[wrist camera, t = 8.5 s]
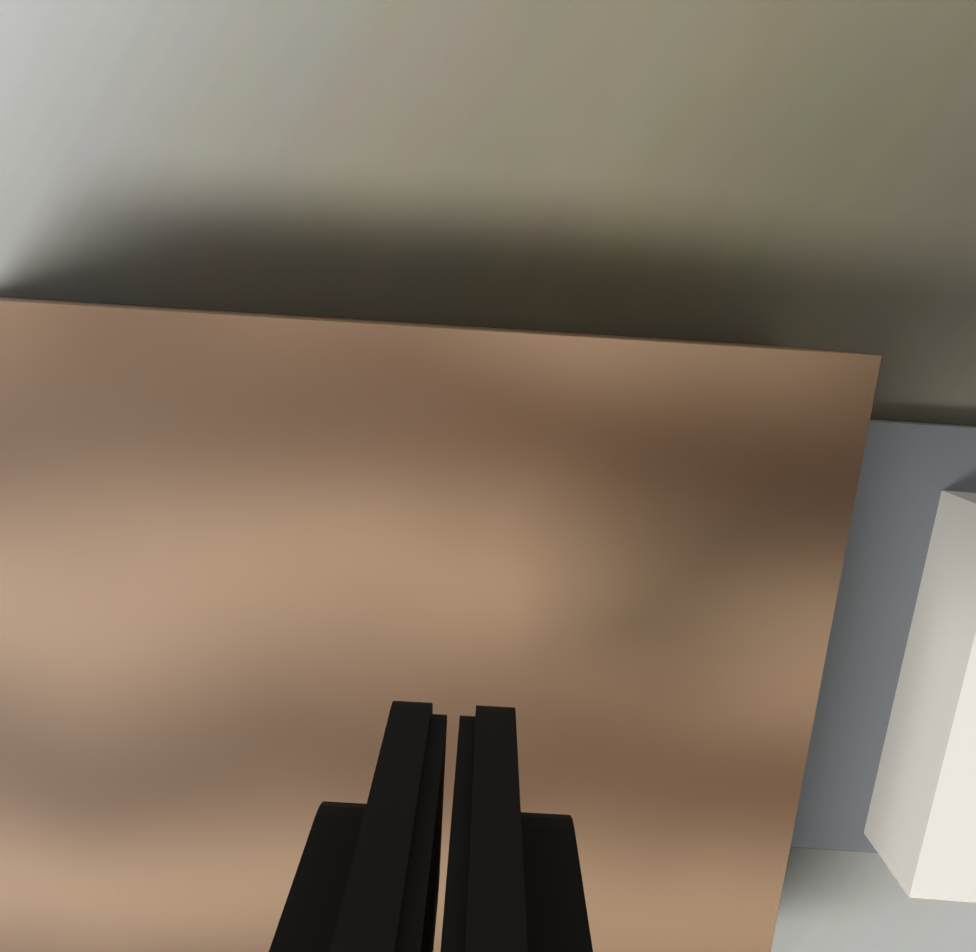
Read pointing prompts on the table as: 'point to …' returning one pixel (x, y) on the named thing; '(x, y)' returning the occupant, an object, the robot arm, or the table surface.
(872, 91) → the table surface
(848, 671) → the mat
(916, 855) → the cream white rectangular block
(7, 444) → the board
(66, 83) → the table surface
